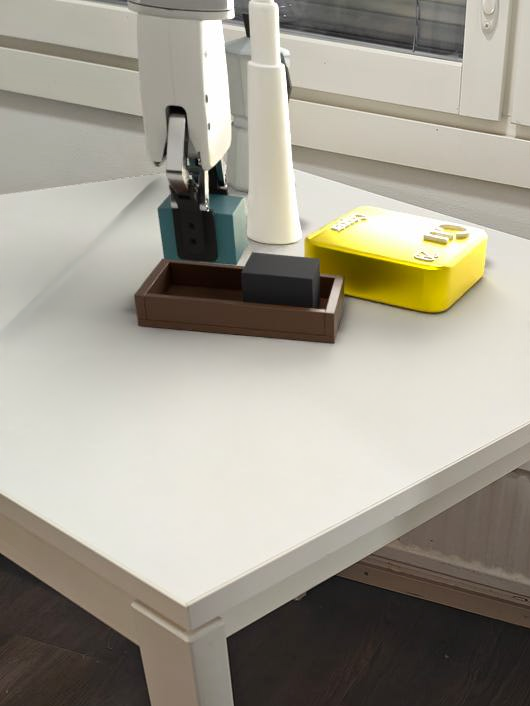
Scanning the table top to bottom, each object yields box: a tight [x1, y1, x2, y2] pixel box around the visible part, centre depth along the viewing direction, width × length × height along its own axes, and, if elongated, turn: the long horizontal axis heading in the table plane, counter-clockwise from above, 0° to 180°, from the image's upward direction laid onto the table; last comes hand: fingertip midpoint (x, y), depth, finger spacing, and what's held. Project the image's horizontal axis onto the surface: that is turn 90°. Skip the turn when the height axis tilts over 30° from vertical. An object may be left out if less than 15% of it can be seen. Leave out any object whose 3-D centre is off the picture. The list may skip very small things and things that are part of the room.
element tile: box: [303, 205, 488, 314], centre depth 89 cm, size 15×15×5 cm
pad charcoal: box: [241, 251, 320, 309], centre depth 79 cm, size 6×6×4 cm
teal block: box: [157, 194, 249, 266], centre depth 75 cm, size 6×6×4 cm
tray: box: [133, 257, 345, 344], centre depth 79 cm, size 17×10×3 cm, turn 91°
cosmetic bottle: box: [246, 0, 303, 245], centre depth 90 cm, size 6×6×22 cm
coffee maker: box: [224, 11, 297, 193], centre depth 106 cm, size 15×9×18 cm, turn 34°
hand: (205, 245), depth 76 cm, fingers closed on teal block, 5 cm apart
